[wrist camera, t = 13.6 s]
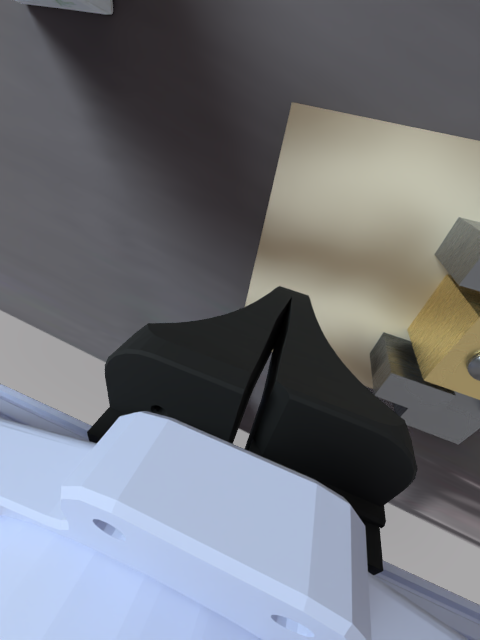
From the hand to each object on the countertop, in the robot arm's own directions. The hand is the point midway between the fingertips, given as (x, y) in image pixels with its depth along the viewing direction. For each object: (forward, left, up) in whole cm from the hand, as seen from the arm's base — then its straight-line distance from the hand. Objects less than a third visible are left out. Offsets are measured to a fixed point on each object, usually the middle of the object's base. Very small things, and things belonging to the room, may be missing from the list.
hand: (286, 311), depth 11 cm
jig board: (0, -6, -6) cm, 9 cm away
